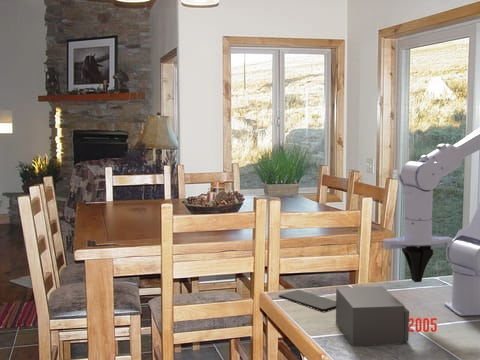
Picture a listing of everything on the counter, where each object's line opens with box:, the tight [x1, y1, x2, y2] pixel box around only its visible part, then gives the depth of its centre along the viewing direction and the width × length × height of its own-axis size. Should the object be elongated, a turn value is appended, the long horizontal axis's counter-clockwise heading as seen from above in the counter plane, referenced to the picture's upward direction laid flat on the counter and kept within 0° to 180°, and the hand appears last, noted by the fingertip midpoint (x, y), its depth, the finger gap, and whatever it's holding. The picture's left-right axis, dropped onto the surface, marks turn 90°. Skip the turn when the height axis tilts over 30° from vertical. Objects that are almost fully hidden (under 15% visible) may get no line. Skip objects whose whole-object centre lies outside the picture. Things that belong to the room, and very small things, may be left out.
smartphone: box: [278, 289, 336, 312], centre depth 138 cm, size 7×1×15 cm
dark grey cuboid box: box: [335, 286, 406, 347], centre depth 117 cm, size 10×13×8 cm
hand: (416, 280), depth 125 cm, fingers closed
